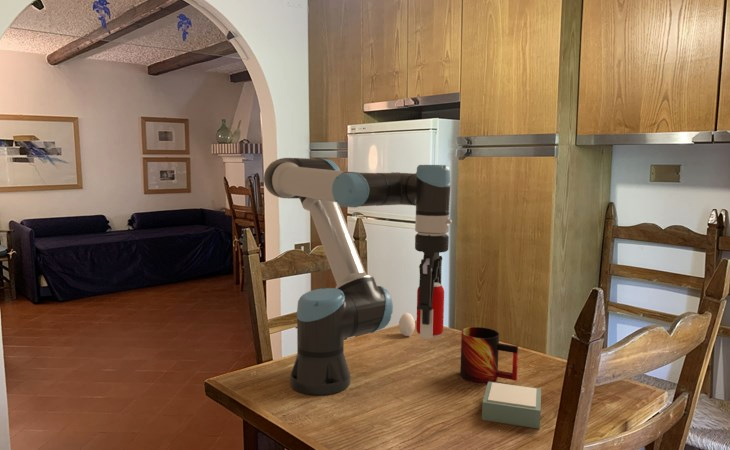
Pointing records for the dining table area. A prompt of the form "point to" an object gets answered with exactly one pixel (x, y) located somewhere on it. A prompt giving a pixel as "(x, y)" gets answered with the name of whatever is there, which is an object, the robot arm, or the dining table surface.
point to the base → (512, 404)
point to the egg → (406, 324)
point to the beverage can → (434, 310)
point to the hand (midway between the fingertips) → (429, 332)
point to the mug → (484, 356)
